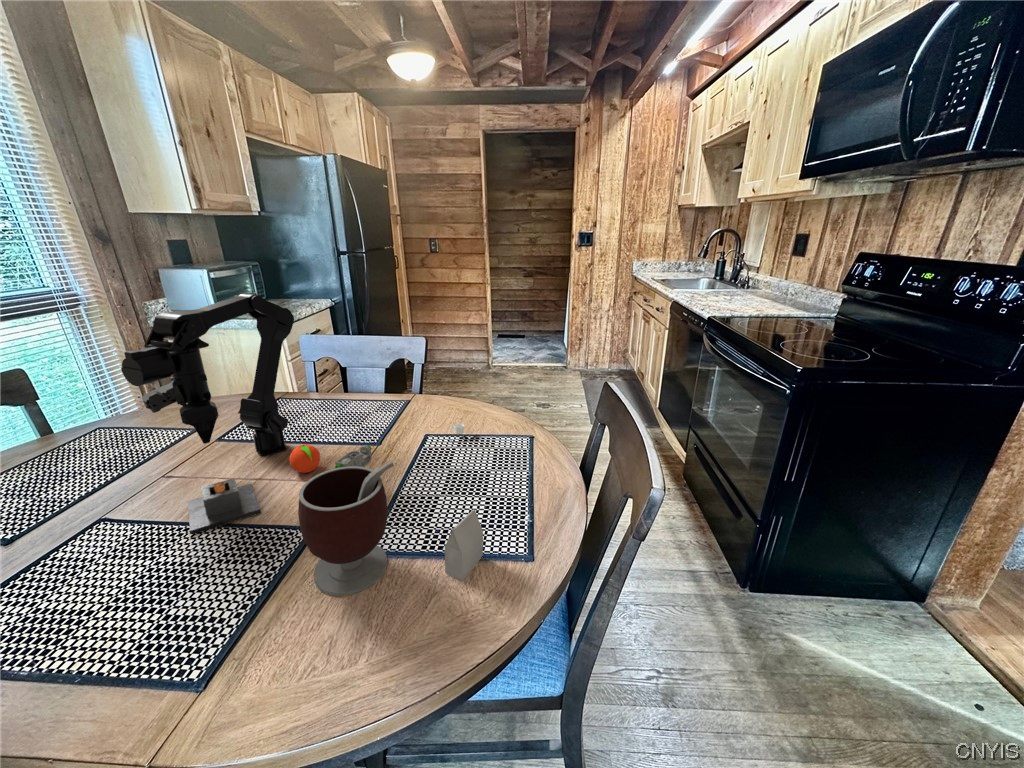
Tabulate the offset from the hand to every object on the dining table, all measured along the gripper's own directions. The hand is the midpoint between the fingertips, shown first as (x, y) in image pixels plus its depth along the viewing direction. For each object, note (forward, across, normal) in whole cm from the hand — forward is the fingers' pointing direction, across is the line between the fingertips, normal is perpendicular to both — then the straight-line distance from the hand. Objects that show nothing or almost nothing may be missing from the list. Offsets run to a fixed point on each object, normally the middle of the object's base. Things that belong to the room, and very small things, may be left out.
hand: (204, 435), depth 95 cm
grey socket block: (+12, +15, 0) cm, 19 cm away
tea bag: (+12, +60, +32) cm, 69 cm away
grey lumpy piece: (+12, +25, +25) cm, 37 cm away
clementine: (+12, +9, +18) cm, 24 cm away
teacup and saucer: (+13, +18, +59) cm, 63 cm away
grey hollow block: (+11, +14, 0) cm, 18 cm away
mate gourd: (+12, +48, +16) cm, 52 cm away
